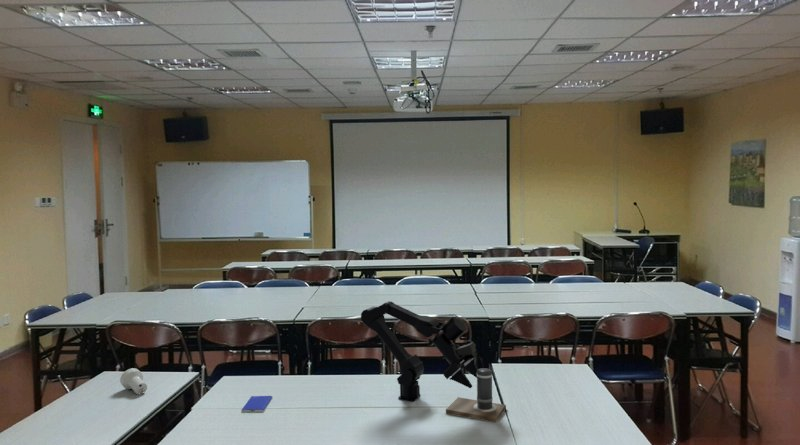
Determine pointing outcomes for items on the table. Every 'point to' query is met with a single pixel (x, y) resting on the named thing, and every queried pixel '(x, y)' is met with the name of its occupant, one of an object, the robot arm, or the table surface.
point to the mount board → (475, 410)
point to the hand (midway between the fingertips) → (476, 383)
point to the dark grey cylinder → (484, 388)
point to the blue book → (257, 404)
